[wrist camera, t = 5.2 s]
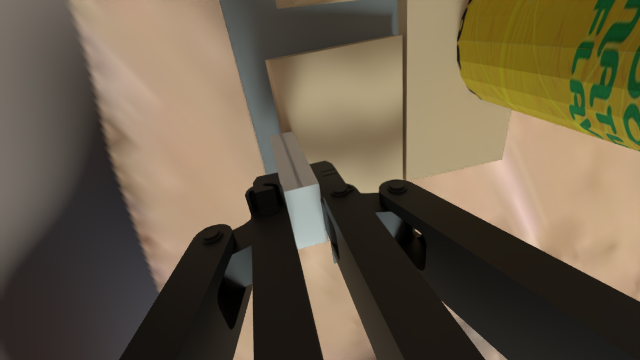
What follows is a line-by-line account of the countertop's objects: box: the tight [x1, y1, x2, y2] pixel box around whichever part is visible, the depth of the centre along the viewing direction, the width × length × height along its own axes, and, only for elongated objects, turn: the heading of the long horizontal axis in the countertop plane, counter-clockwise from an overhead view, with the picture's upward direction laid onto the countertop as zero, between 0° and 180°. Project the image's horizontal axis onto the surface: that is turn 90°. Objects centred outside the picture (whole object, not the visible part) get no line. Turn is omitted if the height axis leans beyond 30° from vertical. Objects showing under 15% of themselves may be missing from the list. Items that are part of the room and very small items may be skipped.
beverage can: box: [457, 0, 640, 151], centre depth 13 cm, size 9×9×12 cm
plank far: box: [265, 35, 403, 193], centre depth 18 cm, size 10×8×1 cm
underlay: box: [219, 0, 512, 181], centre depth 17 cm, size 22×18×2 cm
